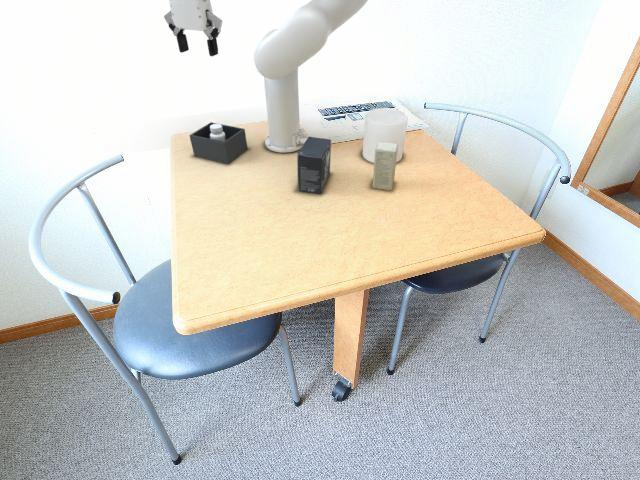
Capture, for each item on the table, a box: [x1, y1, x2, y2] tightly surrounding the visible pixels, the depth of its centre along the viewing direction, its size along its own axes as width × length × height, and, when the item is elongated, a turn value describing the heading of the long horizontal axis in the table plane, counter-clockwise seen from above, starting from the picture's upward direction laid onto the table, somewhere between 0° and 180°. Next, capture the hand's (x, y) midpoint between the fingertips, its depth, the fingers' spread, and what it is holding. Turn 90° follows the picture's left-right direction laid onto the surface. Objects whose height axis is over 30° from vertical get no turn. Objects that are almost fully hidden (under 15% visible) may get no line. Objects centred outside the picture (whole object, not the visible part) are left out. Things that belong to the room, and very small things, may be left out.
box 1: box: [296, 136, 332, 195], centre depth 95 cm, size 11×7×10 cm, turn 166°
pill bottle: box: [210, 123, 226, 142], centre depth 108 cm, size 4×4×8 cm
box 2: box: [372, 142, 398, 191], centre depth 93 cm, size 5×4×11 cm
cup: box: [362, 107, 409, 164], centre depth 106 cm, size 12×12×12 cm
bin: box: [189, 121, 249, 165], centre depth 109 cm, size 12×10×7 cm
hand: (199, 53), depth 100 cm, fingers open, 9 cm apart
